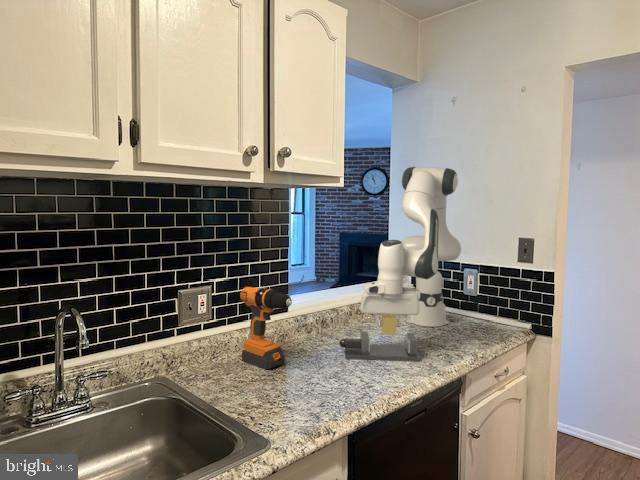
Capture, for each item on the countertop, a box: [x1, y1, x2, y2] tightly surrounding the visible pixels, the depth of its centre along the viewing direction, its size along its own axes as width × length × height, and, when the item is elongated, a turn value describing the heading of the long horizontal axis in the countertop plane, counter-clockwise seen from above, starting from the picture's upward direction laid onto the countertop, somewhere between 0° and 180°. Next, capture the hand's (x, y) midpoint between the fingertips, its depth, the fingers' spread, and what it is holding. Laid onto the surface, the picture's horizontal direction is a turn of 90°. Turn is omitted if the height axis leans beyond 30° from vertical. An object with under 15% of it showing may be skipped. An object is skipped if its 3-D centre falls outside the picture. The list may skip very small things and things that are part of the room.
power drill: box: [239, 286, 293, 371], centre depth 142 cm, size 22×7×25 cm, turn 50°
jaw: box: [339, 331, 371, 354], centre depth 155 cm, size 9×10×5 cm
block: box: [381, 314, 398, 336], centre depth 154 cm, size 4×4×6 cm
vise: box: [344, 332, 421, 362], centre depth 155 cm, size 12×25×6 cm, turn 87°
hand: (388, 326), depth 154 cm, fingers closed on block, 4 cm apart
